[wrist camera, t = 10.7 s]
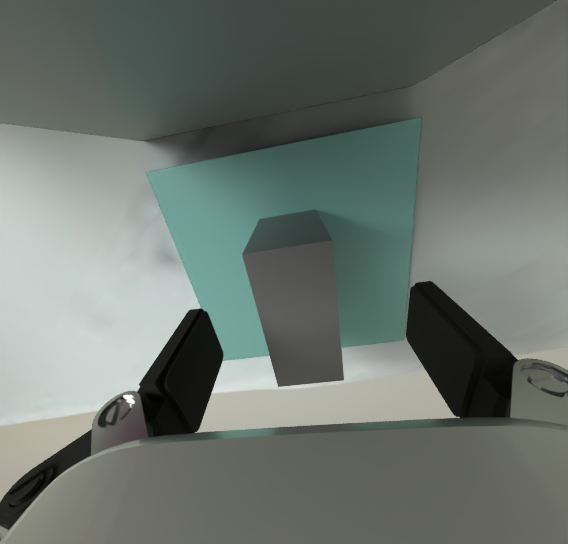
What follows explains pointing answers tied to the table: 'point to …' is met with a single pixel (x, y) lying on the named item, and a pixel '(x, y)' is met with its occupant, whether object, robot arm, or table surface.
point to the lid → (299, 245)
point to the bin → (222, 57)
